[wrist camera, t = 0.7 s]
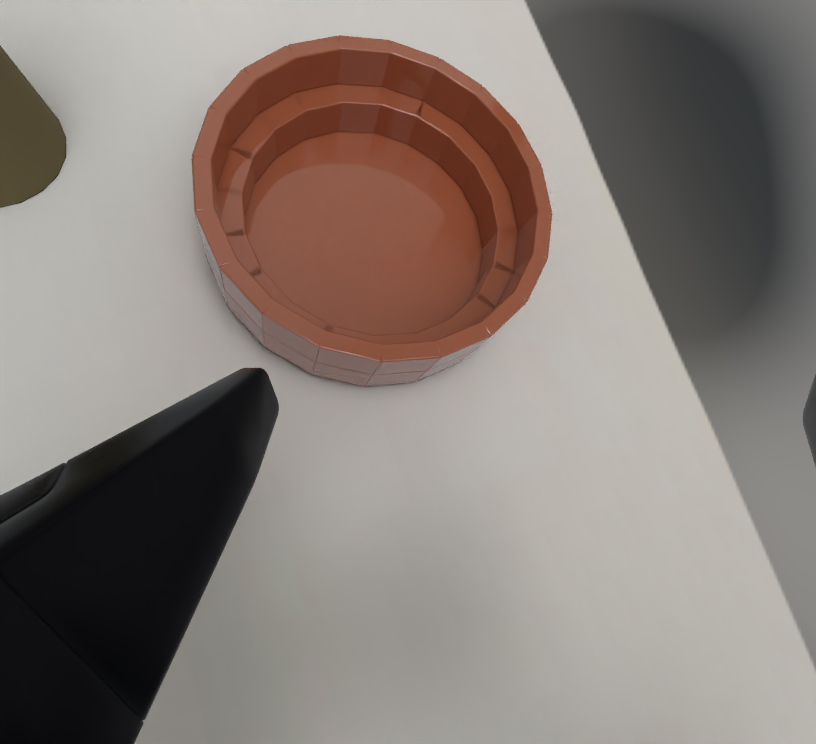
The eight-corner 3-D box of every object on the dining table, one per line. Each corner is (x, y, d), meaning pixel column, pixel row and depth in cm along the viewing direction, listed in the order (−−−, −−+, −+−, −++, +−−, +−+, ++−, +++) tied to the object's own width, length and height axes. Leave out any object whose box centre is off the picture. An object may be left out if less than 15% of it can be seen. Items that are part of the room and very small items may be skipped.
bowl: (359, 455, 22) (379, 442, 18) (135, 210, 23) (104, 141, 19) (560, 266, 27) (612, 221, 23) (373, 67, 28) (391, -12, 24)
